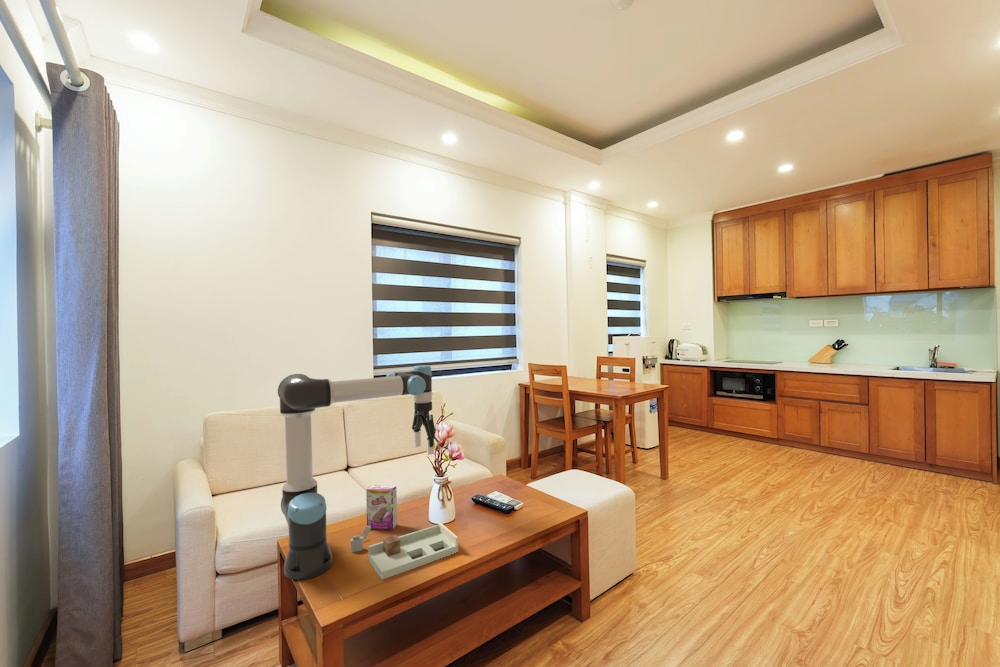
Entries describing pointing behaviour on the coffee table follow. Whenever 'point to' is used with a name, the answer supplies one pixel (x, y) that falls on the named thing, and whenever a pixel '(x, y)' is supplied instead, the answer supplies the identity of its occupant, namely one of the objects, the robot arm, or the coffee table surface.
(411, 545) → the board
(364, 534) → the lighter
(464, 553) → the coffee table surface
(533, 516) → the coffee table surface
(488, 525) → the coffee table surface
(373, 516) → the candy bar box
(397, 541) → the block
